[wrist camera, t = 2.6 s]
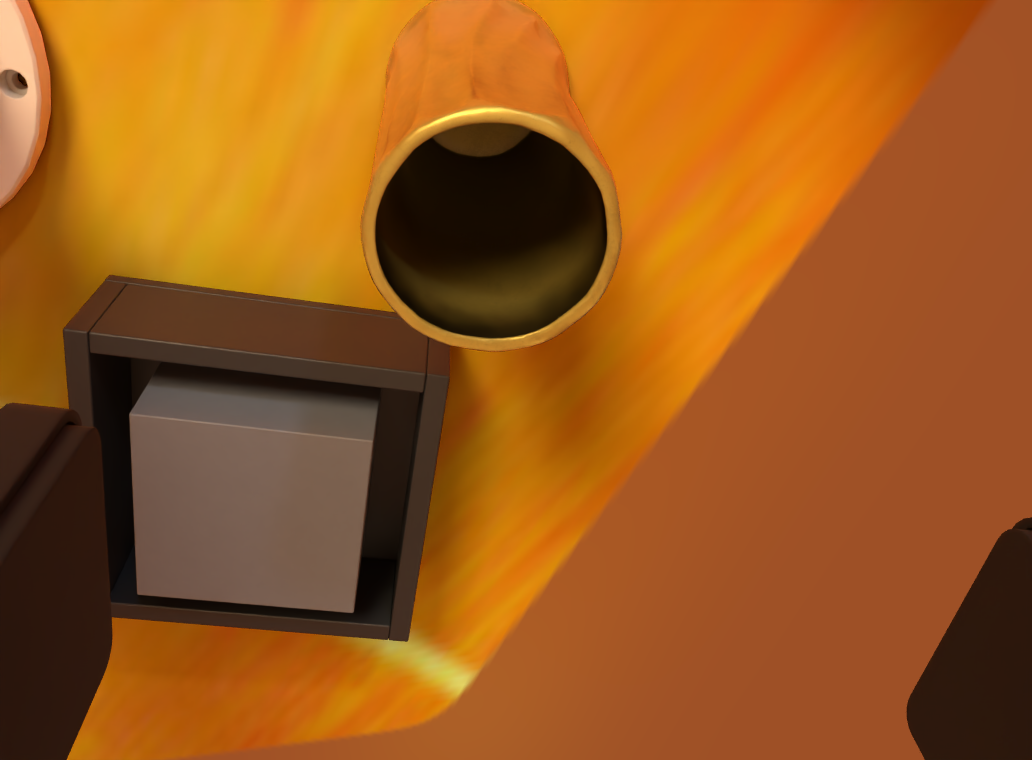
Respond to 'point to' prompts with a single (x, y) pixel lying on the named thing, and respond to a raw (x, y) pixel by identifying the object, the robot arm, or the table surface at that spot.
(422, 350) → the crate
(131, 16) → the table surface
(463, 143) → the vase
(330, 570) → the block
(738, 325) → the table surface
